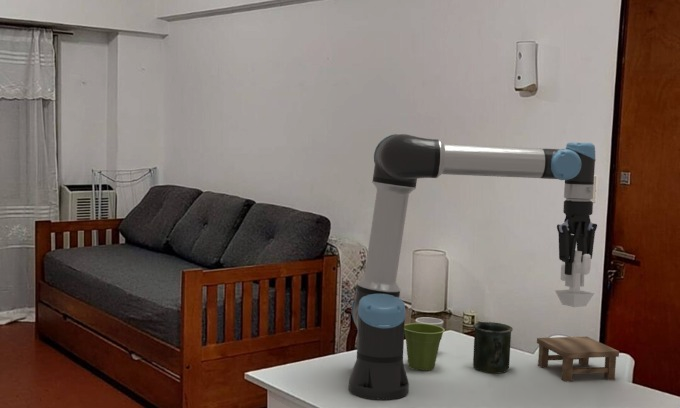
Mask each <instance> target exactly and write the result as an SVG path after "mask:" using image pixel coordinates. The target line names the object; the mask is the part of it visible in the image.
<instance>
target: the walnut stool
mask: <svg viewBox="0 0 680 408" xmlns="http://www.w3.org/2000/svg"><path fill="white" fill-rule="evenodd" d="M536 344H538V360H537V364H538V365H537V366H538V367H539V368H544V367H546V368H548V367H549V361H562V365H561V380H562V381H563V380H564V382H566V383H567V381H569V382H573V375H580V374H582V375H583V374H602V373H603V378H604V379H606V380H608V379H609V380H610V381H611V380H615V381H616V365H617V364H616V363H617V358H619V357H620V351H619V350H617V349H615V348H613V347H611V346H608V345H607V344H604V343H602V342H600V341H597V340H595V339H594V338H590V337H589V336H566V337H565V336H562V337H560V336H559V337H537V338H536ZM550 351H552V352H553V353H555V354H549V352H550ZM591 358H593V359H594V358H604V366H598V367H597V366H596V367H595V366H594V367H592V366H591V367H589V364H590V363H589V361H590V359H591ZM574 360H578V365H580V366H581V367H574Z"/></svg>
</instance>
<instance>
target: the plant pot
mask: <svg viewBox="0 0 680 408" xmlns="http://www.w3.org/2000/svg"><path fill="white" fill-rule="evenodd" d="M445 332H446V330H445V328H444V327H443V326H442V327H440V326H437V325H432V324H424V323H416V322H413V323H405V324H404V338H405V342H406V353H407V354H406V355H407V365H408V367H409V368H411V369H413V370H416V371H417V370H422V371H425V372H427V371H431V370H433V369H435V366H436V361H437V357H438V353H439V349H440V348H439V347H440V343H441V340H442V337H443V333H445Z"/></svg>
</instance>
